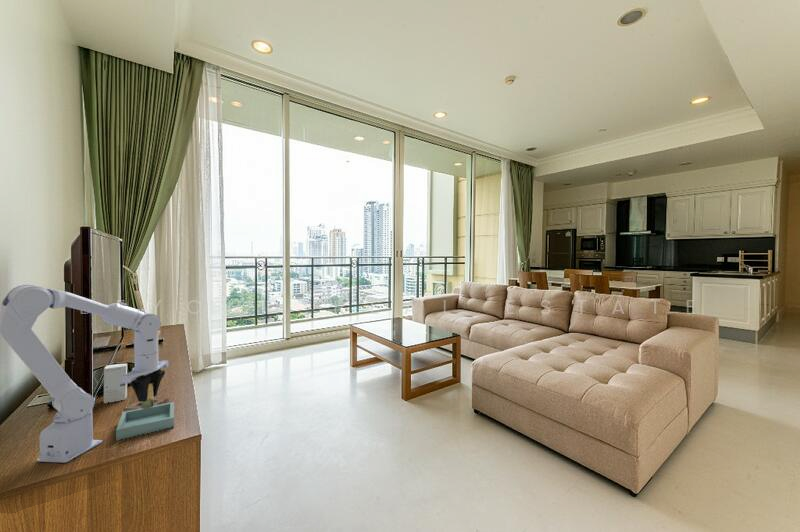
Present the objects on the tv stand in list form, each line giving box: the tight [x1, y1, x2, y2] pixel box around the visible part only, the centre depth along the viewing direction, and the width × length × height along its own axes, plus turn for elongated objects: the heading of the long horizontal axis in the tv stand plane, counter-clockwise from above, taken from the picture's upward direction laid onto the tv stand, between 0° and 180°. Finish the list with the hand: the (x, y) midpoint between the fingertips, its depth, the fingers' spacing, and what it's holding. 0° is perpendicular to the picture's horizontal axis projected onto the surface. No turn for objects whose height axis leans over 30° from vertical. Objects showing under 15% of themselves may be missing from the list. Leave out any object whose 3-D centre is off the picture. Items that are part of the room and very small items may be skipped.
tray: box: [115, 401, 175, 442], centre depth 100 cm, size 13×13×3 cm
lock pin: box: [141, 381, 155, 409], centre depth 100 cm, size 3×3×7 cm
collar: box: [123, 397, 170, 412], centre depth 112 cm, size 8×8×2 cm
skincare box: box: [103, 362, 128, 404], centre depth 118 cm, size 6×4×12 cm
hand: (147, 398), depth 100 cm, fingers closed on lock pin, 3 cm apart
